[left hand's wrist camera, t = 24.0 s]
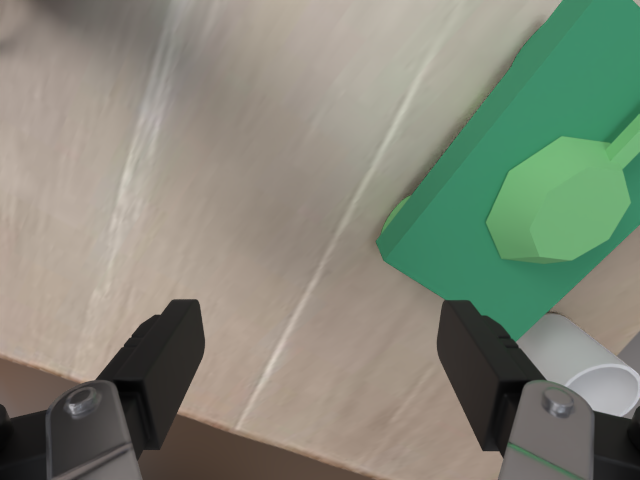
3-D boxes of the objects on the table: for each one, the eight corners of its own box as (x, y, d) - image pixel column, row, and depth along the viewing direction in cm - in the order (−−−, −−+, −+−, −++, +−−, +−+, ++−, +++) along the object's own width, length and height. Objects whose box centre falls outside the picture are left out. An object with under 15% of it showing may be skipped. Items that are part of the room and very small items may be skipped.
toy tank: (924, 18, 23) (535, 367, 34) (723, 46, 34) (479, 300, 45) (776, -185, 19) (391, 279, 30) (606, -78, 31) (371, 230, 41)
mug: (576, 302, 45) (646, 355, 35) (575, 356, 48) (639, 418, 39) (490, 320, 46) (536, 376, 36) (495, 371, 49) (538, 436, 40)
